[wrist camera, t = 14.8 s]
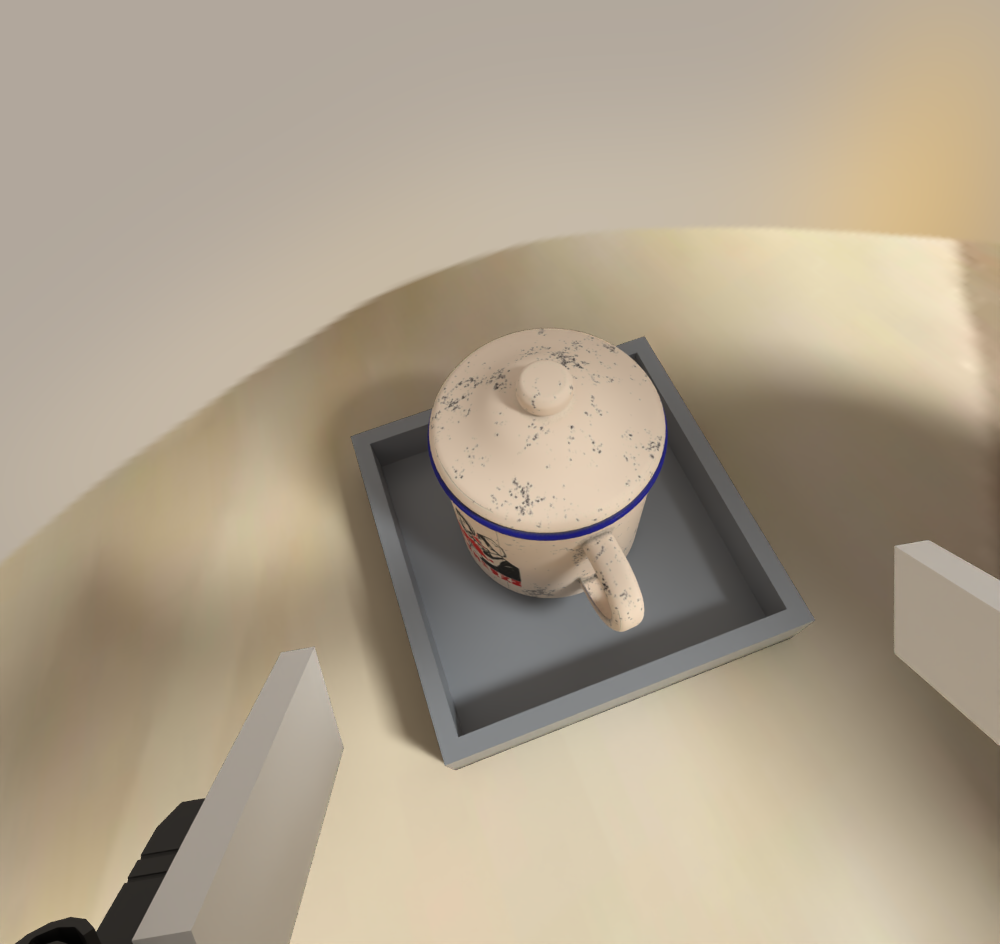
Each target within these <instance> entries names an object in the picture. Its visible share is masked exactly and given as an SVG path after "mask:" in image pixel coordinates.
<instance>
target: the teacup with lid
mask: <svg viewBox="0 0 1000 944" xmlns="http://www.w3.org/2000/svg"><path fill="white" fill-rule="evenodd" d="M427 438H428V451H429V457H430V461H431V465H432V468H433V470H434V473H435V476H436V477H437V479H438V481H439V483H440V485H441V487H442V488H443V490H444V491H445V493H446V494H447V495H448V497H449V498H450V500H451V502H452V505H453V508H454V511H455V514H456V517H457V519H458V522H459V525H460V528H461V531H462V534H463V537H464V539H465V542H466V545H467V547H468V549H469V551H470V553H471V555H472V557H473V558H474V560H475V561H476V563H477V564H478V565H479V566H480V568H481V569H482V570H483V571H484V572H485V573H486V574H487V575H488V576H490V577H491V578H492V579H493V580H494V581H496V582H497V583H499V584H500V585H502V586H504V587H506V588H508V589H510V590H512V591H514V592H517V593H520V594H523V595H527V596H531V597H538V598H562V597H567V596H572V595H576V594H579V593H582V592H585V594H586V596H587V598H588V600H589V601H590V603H591V605H592V606H593V608H594V610H595V611H596V613H597V614H598V616H599V617H600V618H601V619H602V621H603V622H604V623H605V624H606V625H607V626H608V627H610V628H611V629H613V630H615V631H618V632H623V631H626V630H629V629H631V628H633V627H635V626H637V625H638V624H639V623H640V622H641V621H642V619H643V616H644V602H643V597H642V594H641V591H640V588H639V585H638V582H637V580H636V577H635V575H634V573H633V571H632V569H631V566H630V564H629V563H628V561H627V559H626V556H627V555H628V553H629V551H630V549H631V547H632V544H633V542H634V539H635V535H636V532H637V528H638V525H639V521H640V518H641V514H642V511H643V507H644V504H645V501H646V497H647V494H648V492H649V490H650V489H651V487H652V486H653V484H654V483H655V481H656V479H657V477H658V475H659V473H660V471H661V468H662V465H663V463H664V459H665V455H666V449H667V441H668V429H667V420H666V416H665V411H664V408H663V405H662V402H661V400H660V397H659V395H658V393H657V390H656V388H655V386H654V385H653V383H652V381H651V380H650V378H649V377H648V376H647V374H646V373H645V372H644V370H643V369H642V368H641V367H640V366H639V365H638V364H637V363H636V362H635V361H634V360H633V359H632V358H631V357H630V356H628V355H627V354H626V353H624V352H623V351H622V350H620V349H619V348H617V347H616V346H614V345H612V344H611V343H609V342H607V341H605V340H603V339H600V338H598V337H595V336H593V335H590V334H586V333H583V332H579V331H574V330H568V329H559V328H539V329H529V330H524V331H519V332H515V333H511V334H508V335H505V336H502V337H500V338H497V339H495V340H493V341H491V342H489V343H487V344H485V345H483V346H481V347H480V348H478V349H477V350H475V351H474V352H472V353H471V354H470V355H469V356H467V357H466V358H465V359H464V360H463V361H462V362H461V363H460V364H459V365H458V366H457V367H456V368H455V369H454V370H453V371H452V372H451V374H450V375H449V376H448V378H447V379H446V380H445V382H444V383H443V385H442V387H441V389H440V390H439V392H438V395H437V397H436V399H435V402H434V405H433V408H432V411H431V414H430V419H429V424H428V434H427Z"/></svg>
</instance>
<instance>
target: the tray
mask: <svg viewBox="0 0 1000 944" xmlns="http://www.w3.org/2000/svg"><path fill="white" fill-rule="evenodd" d="M616 347H617V348H619V349H620V350H622V351H623V352H624V353H626V354H627V355H628V356H630V357H631V358H632V359H633V360H634V361H635V362H636V363H637V364H638V365H639V366H640V367H641V368H642V369H643V370H644V372H645V373H646V374H647V376H648V377H649V378H650V380H651V381H652V383H653V385H654V386H655V388H656V390H657V393H658V395H659V397H660V400H661V402H662V405H663V408H664V411H665V416H666V420H667V429H668V441H667V449H666V455H665V459H664V463H663V465H662V468H661V471H660V473H659V475H658V477H657V479H656V481H655V483H654V484H653V486H652V487H651V489H650V490H649V492H648V494H647V497H646V501H645V504H644V507H643V511H642V514H641V518H640V521H639V525H638V528H637V532H636V535H635V539H634V542H633V544H632V547H631V549H630V551H629V553H628V555H627V556H626V559H627V561H628V563H629V564H630V566H631V569H632V571H633V573H634V575H635V577H636V580H637V582H638V585H639V588H640V591H641V594H642V597H643V602H644V616H643V619H642V621H641V622H640V623H639V624H638V625H637V626H635V627H633V628H631V629H629V630H626V631H623V632H618V631H615V630H613V629H611V628H610V627H608V626H607V625H606V624H605V623H604V622H603V621H602V619H601V618H600V617H599V616H598V614H597V613H596V611H595V610H594V608H593V606H592V605H591V603H590V601H589V600H588V598H587V596H586V594H585V592H582V593H579V594H576V595H572V596H567V597H562V598H538V597H531V596H527V595H523V594H520V593H517V592H514V591H512V590H510V589H508V588H506V587H504V586H502V585H500V584H499V583H497V582H496V581H494V580H493V579H492V578H491V577H490V576H488V575H487V574H486V573H485V572H484V571H483V570H482V569H481V568H480V566H479V565H478V564H477V563H476V561H475V560H474V558H473V557H472V555H471V553H470V551H469V549H468V547H467V545H466V542H465V539H464V537H463V534H462V531H461V528H460V525H459V522H458V519H457V517H456V514H455V511H454V508H453V505H452V502H451V500H450V498H449V497H448V495H447V494H446V493H445V491H444V490H443V488H442V487H441V485H440V483H439V481H438V479H437V477H436V476H435V473H434V470H433V468H432V465H431V461H430V457H429V451H428V438H427V434H428V424H429V419H430V414H431V411H432V409H430V410H427V411H424V412H421V413H418V414H415V415H412V416H409V417H406V418H403V419H400V420H397V421H394V422H391V423H389V424H386V425H383V426H380V427H377V428H374V429H371V430H368V431H365V432H362V433H359V434H356V435H353V436H351V439H352V443H353V446H354V450H355V453H356V457H357V460H358V464H359V467H360V471H361V474H362V478H363V481H364V485H365V488H366V492H367V495H368V499H369V502H370V506H371V509H372V513H373V516H374V520H375V523H376V527H377V530H378V534H379V537H380V541H381V544H382V548H383V551H384V555H385V558H386V562H387V565H388V569H389V572H390V576H391V579H392V583H393V586H394V590H395V593H396V597H397V600H398V604H399V607H400V611H401V614H402V618H403V621H404V625H405V628H406V632H407V635H408V639H409V642H410V646H411V649H412V652H413V656H414V659H415V663H416V666H417V670H418V673H419V677H420V680H421V684H422V687H423V691H424V694H425V698H426V701H427V705H428V708H429V712H430V715H431V719H432V722H433V726H434V729H435V733H436V736H437V740H438V743H439V747H440V750H441V754H442V757H443V761H444V764H445V766H447V767H449V768H452V769H454V770H457V769H460V768H462V767H465V766H468V765H470V764H473V763H475V762H478V761H480V760H483V759H485V758H488V757H490V756H493V755H495V754H498V753H501V752H503V751H506V750H508V749H511V748H513V747H516V746H518V745H521V744H523V743H526V742H528V741H531V740H533V739H536V738H539V737H541V736H544V735H546V734H549V733H551V732H554V731H556V730H559V729H561V728H564V727H566V726H569V725H572V724H574V723H577V722H579V721H582V720H584V719H587V718H589V717H592V716H594V715H597V714H599V713H602V712H605V711H607V710H610V709H612V708H615V707H617V706H620V705H622V704H625V703H627V702H630V701H632V700H635V699H637V698H640V697H643V696H645V695H648V694H650V693H653V692H655V691H658V690H660V689H663V688H665V687H668V686H670V685H673V684H676V683H678V682H681V681H683V680H686V679H688V678H691V677H693V676H696V675H698V674H701V673H703V672H706V671H708V670H711V669H714V668H716V667H719V666H721V665H724V664H726V663H729V662H731V661H734V660H736V659H739V658H741V657H744V656H747V655H749V654H752V653H754V652H757V651H759V650H762V649H764V648H767V647H769V646H772V645H774V644H777V643H779V642H782V641H785V640H787V639H790V638H792V637H793V636H795V635H796V634H797V633H799V632H800V631H801V630H803V629H804V628H805V627H807V626H808V625H809V624H811V623H812V622H814V621H815V619H814V617H813V616H812V614H811V612H810V611H809V609H808V607H807V606H806V604H805V602H804V601H803V599H802V597H801V596H800V594H799V592H798V591H797V589H796V587H795V586H794V584H793V582H792V581H791V579H790V577H789V576H788V574H787V572H786V571H785V569H784V567H783V566H782V564H781V562H780V561H779V559H778V557H777V556H776V554H775V552H774V551H773V549H772V547H771V546H770V544H769V542H768V541H767V539H766V538H765V536H764V534H763V533H762V531H761V529H760V528H759V526H758V524H757V523H756V521H755V519H754V518H753V516H752V514H751V513H750V511H749V509H748V508H747V506H746V504H745V503H744V501H743V499H742V498H741V496H740V494H739V493H738V491H737V489H736V488H735V486H734V484H733V483H732V481H731V479H730V478H729V476H728V474H727V473H726V471H725V469H724V468H723V466H722V464H721V463H720V461H719V459H718V458H717V456H716V454H715V453H714V451H713V449H712V448H711V446H710V444H709V443H708V441H707V440H706V438H705V436H704V435H703V433H702V431H701V430H700V428H699V426H698V425H697V423H696V421H695V420H694V418H693V416H692V415H691V413H690V411H689V410H688V408H687V406H686V405H685V403H684V401H683V400H682V398H681V396H680V395H679V393H678V391H677V390H676V388H675V386H674V385H673V383H672V381H671V380H670V378H669V376H668V375H667V373H666V371H665V370H664V368H663V366H662V365H661V363H660V361H659V360H658V358H657V356H656V355H655V353H654V351H653V350H652V348H651V346H650V345H649V343H648V341H647V340H646V338H645V337H641V338H638V339H635V340H632V341H629V342H626V343H623V344H620V345H617V346H616Z"/></svg>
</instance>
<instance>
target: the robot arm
mask: <svg viewBox="0 0 1000 944" xmlns="http://www.w3.org/2000/svg"><path fill="white" fill-rule="evenodd" d="M894 654H896V655H897V656H898V657H899V658H900V659H901V660H902V661H904V662H905V663H906V664H907V665H908V666H909V667H910V668H911V669H913V670H914V671H915V672H916V673H917V674H918V675H919V676H921V677H922V678H923V679H924V680H925V681H926V682H927V683H928V684H930V685H931V686H932V687H933V688H934V689H935V690H936V691H938V692H939V693H940V694H941V695H942V696H943V697H944V698H945V699H947V700H948V701H949V702H950V703H951V704H952V705H953V706H955V707H956V708H957V709H958V710H959V711H960V712H961V713H962V714H964V715H965V716H966V717H967V718H968V719H969V720H970V721H972V722H973V723H974V724H975V725H976V726H977V727H978V728H980V729H981V730H982V731H983V732H984V733H985V734H986V735H987V736H989V737H990V738H991V739H992V740H993V741H994V742H995V743H997V744H998V745H999V746H1000V580H998V579H997V578H995V577H993V576H991V575H990V574H988V573H986V572H984V571H983V570H981V569H979V568H977V567H976V566H974V565H972V564H970V563H968V562H967V561H965V560H963V559H961V558H960V557H958V556H956V555H954V554H953V553H951V552H949V551H947V550H945V549H944V548H942V547H940V546H938V545H937V544H935V543H933V542H931V541H930V540H925V541H919V542H914V543H908V544H902V545H896V546H894ZM343 749H344V747H343V744H342V740H341V737H340V733H339V730H338V726H337V723H336V719H335V716H334V712H333V709H332V705H331V702H330V698H329V695H328V692H327V688H326V685H325V681H324V678H323V674H322V671H321V667H320V664H319V660H318V657H317V653H316V650H315V647H310V648H304V649H298V650H292V651H287V652H281V654H280V655H279V657H278V659H277V661H276V663H275V665H274V667H273V669H272V671H271V673H270V675H269V677H268V679H267V681H266V682H265V684H264V686H263V688H262V690H261V692H260V694H259V696H258V698H257V700H256V702H255V704H254V706H253V708H252V709H251V711H250V713H249V715H248V717H247V719H246V721H245V723H244V725H243V727H242V729H241V731H240V733H239V735H238V736H237V738H236V740H235V742H234V744H233V746H232V748H231V750H230V752H229V754H228V756H227V758H226V760H225V762H224V763H223V765H222V767H221V769H220V771H219V773H218V775H217V777H216V779H215V781H214V783H213V785H212V787H211V789H210V790H209V792H208V794H207V796H206V798H204V799H198V800H192V801H186V802H181V803H180V804H179V805H178V806H177V807H176V808H175V810H174V811H173V812H172V813H171V814H170V815H169V816H168V817H167V818H166V819H165V820H164V821H163V822H162V823H161V824H160V825H159V826H158V827H157V828H156V830H155V831H154V833H153V835H152V837H151V838H150V840H149V842H148V843H147V845H146V847H145V849H144V850H143V852H142V854H141V860H138V861H137V862H136V864H135V866H134V868H133V869H132V871H131V873H130V874H129V876H128V882H127V883H124V885H123V887H122V888H121V890H120V892H119V893H118V895H117V897H116V899H115V900H114V902H113V904H112V906H111V907H110V909H109V911H108V912H107V914H106V916H105V918H104V919H103V921H102V923H101V925H100V926H99V928H98V930H97V931H95V929H94V928H93V926H92V925H91V924H90V923H89V922H88V921H87V920H86V919H81V918H73V917H69V918H66V919H62V920H58V921H54V922H50V923H48V924H46V925H45V926H43V927H41V928H39V929H37V930H35V931H33V932H31V933H29V934H27V935H26V936H25V937H23V938H22V939H21V940H19V941H18V942H17V943H16V944H289V943H290V940H291V936H292V932H293V929H294V925H295V922H296V918H297V914H298V911H299V907H300V904H301V900H302V896H303V893H304V889H305V886H306V882H307V878H308V875H309V871H310V868H311V864H312V860H313V857H314V853H315V850H316V846H317V842H318V839H319V835H320V832H321V828H322V824H323V821H324V817H325V814H326V810H327V806H328V803H329V799H330V795H331V792H332V788H333V785H334V781H335V777H336V774H337V770H338V767H339V763H340V759H341V756H342V752H343Z"/></svg>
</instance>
